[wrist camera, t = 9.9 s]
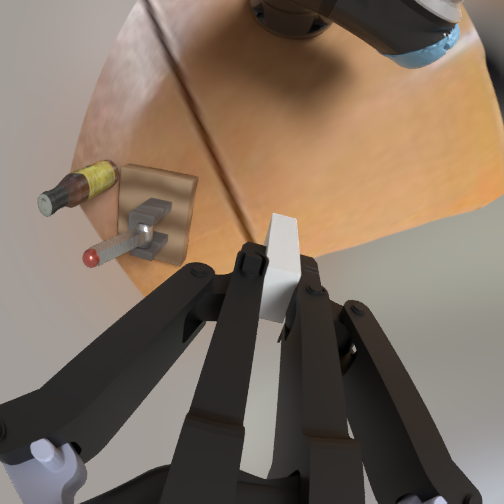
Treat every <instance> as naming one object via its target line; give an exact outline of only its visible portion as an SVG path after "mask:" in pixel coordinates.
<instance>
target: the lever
mask: <svg viewBox="0 0 504 504" xmlns="http://www.w3.org/2000/svg"><path fill="white" fill-rule="evenodd" d="M152 238H153V226H152V225H148V224H145V223H141V222H137V221H133V220H131V211H130V212H129V226H128V231H126V232H124V233H122V234H119V235H117V236H115V237H112V238H110V239H108V240H105V241H103V242H101V243H99V244H96V245H94V246H92V247H90V248H89V249H88V250H86V251H85V252H84V254H83V262H84V264H85V265H86V266H87V267H90V268H93V267H95V266H97V265H98V266H100V265H101V264H104V263H106V262H108V261H110V260H111V259H114V258H116V257H118V256H120V255H122V254H124V253H126V252H128V251H130V250H132V249H134V248H136V247H140V248H149V247H151V246H152Z"/></svg>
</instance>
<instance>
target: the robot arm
mask: <svg viewBox="0 0 504 504" xmlns="http://www.w3.org/2000/svg"><path fill="white" fill-rule="evenodd" d="M462 1H464V0H250V6H251V10H252V13H253V15H254V17H255V19H256V20H257V22H258V23H259V24H260V25H261V26H262V27H263V28H265V29H266V30H267V31H269V32H271V33H273V34H275V35H278V36H281V37H284V38H290V39H305V38H311V37H314V36H317V35H319V34H321V33H323V32H324V31H326V30H327V29H328V28H329V27H330V26H331V25H332V23H333V22H334V23H336V24H338V25H339V26H341V27H343V28H344V29H346V30H348V31H349V32H351V33H352V34H354V35H356V36H357V37H359V38H360V39H362V40H363V41H365V42H366V43H368V44H369V45H371V46H372V47H373V48H375V49H376V50H377V51H378V52H379V53H380V54H381V55H384V56H386V57H388V58H390V59H391V60H392V61H394V62H395V63H397V64H398V65H399V66H402V67H404V68H407V69H417V68H421V67H424V66H427V65H429V64H431V63H433V62H435V61H436V60H438V59H439V58H441V57H442V56H444V55H445V54H446V50H448V49H451V48H452V47H453V46H454V45H455V43H456V42H457V40H458V38H459V35H460V28H459V26H458V24H457V23H458V22H459V21H460V20H461V19H462V15H461V9H460V3H461V2H462ZM285 315H286V320H285V324H284V326H283V329H282V331H281V334H280V336H279V339H278V341H277V342H278V343H279V342H280V340H281V357H280V374H279V389H278V403H277V416H276V428H275V440H274V451H273V462H272V466H271V469H270V471H269V473H268V476H267V479H263V478H260V477H257V476H254V475H252V474H249V473H246V472H244V471H242V470H239V468H240V462H241V455H242V450H243V443H244V436H245V427H244V426H243V421H244V414H245V408H246V402H247V395H248V389H249V382H250V375H251V369H252V361H253V355H254V349H255V342H256V335H257V327H258V321H259V318H261V319H266V320H270V321H274V322H278V323H283V320H284V318H285ZM206 321H217V324H216V327H215V330H214V333H213V336H212V339H211V343H210V346H209V349H208V352H207V355H206V359H205V362H204V365H203V368H202V371H201V374H200V378H199V381H198V384H197V387H196V390H195V394H194V397H193V400H192V404H191V407H190V410H189V412H188V413H187V415H186V418H185V420H184V423H183V427H182V429H181V433H180V436H179V439H178V443H177V446H176V449H175V453H174V456H173V459H172V462H171V464H169V465H164V466H160V467H156V468H154V469H151V470H149V471H147V472H145V473H143V474H141V475H140V476H137V477H136V478H134V479H132V480H130V481H128V482H126V483H124V484H122V485H120V486H118V487H116V488H114V489H112V490H110V491H108V492H105V493H103V494H101V495H99V496H96V497H94V498H92V499H90V500H87V501H85V502H82V503H80V504H365V491H364V476H363V464H364V467H365V470H366V473H367V476H368V479H369V482H370V485H371V488H372V491H373V493H374V496H375V498H376V500H377V502H378V504H482V496H481V494H480V492H479V491H478V489H477V488H476V487H475V486H474V485H473V484H472V483H471V481H470V480H469V479H468V478H467V477H466V476H465V474H464V473H463V472H462V471H461V470H460V469H459V468H458V466H457V465H456V464H455V463H454V462H453V461H452V459H451V457H450V454H449V452H448V450H447V448H446V446H445V444H444V441H443V439H442V437H441V435H440V433H439V431H438V429H437V427H436V425H435V423H434V421H433V419H432V417H431V415H430V413H429V411H428V409H427V407H426V405H425V404H424V402H423V400H422V398H421V396H420V394H419V392H418V391H417V389H416V387H415V385H414V383H413V381H412V380H411V378H410V376H409V374H408V372H407V371H406V369H405V367H404V365H403V364H402V362H401V360H400V358H399V357H398V355H397V353H396V352H395V350H394V348H393V347H392V345H391V343H390V342H389V340H388V338H387V337H386V335H385V333H384V332H383V330H382V328H381V327H380V325H379V323H378V322H377V320H376V319H375V317H374V315H373V314H372V312H371V311H370V309H369V308H368V307H367V306H365V305H364V304H363V303H361V302H359V301H355V300H348V301H346V302H345V304H344V306H342V305H339V304H337V303H335V302H333V301H331V300H330V299H329V294H328V292H327V290H326V289H325V288H324V287H323V286H321V282H320V277H319V271H318V265H317V263H316V261H315V260H314V259H313V258H312V257H308V256H304V255H301V254H300V253H299V241H298V230H297V219H295V218H291V217H287V216H284V215H280V214H276V213H273V214H272V218H271V221H270V225H269V229H268V232H267V236H266V239H265V243H264V246H263V245H260V244H256V243H252V242H247V243H245V244H244V245H243V246H242V249H241V251H239V252H238V254H237V258H236V262H235V267H234V271H233V272H232V273H229V274H225V275H216V274H215V271H214V270H213V268H212V267H210V266H208V265H207V264H203V263H198V262H193V263H188V264H186V265H185V266H183V267H182V268H181V269H180V270H178V271H177V272H176V273H175V274H173V275H172V276H171V277H170V278H168V279H167V280H166V281H165V282H164V283H162V284H161V285H160V286H159V287H157V288H156V289H155V290H154V291H152V292H151V293H150V294H149V295H148V296H146V297H145V298H144V299H143V300H142V301H140V302H139V303H138V304H137V305H136V306H134V307H133V308H132V309H131V310H130V311H128V312H127V313H126V314H125V315H124V316H122V317H121V318H120V319H119V320H118V321H117V322H115V323H114V324H113V325H112V326H111V327H109V328H108V329H107V330H106V331H105V332H103V333H102V334H101V335H100V336H99V337H98V338H96V339H95V340H94V341H93V342H92V343H91V344H90V345H88V346H87V347H86V348H85V349H84V350H83V351H81V352H80V353H79V354H78V355H77V356H76V357H75V358H74V359H72V360H71V361H70V362H69V363H68V364H67V365H66V366H64V367H63V368H62V369H61V370H60V371H59V372H58V373H57V374H56V375H54V376H53V377H52V378H51V379H50V380H49V381H48V382H47V383H46V384H44V386H42V387H41V388H40V389H38V390H35V391H33V392H31V393H28V394H26V395H23V396H21V397H18V398H16V399H13V400H11V401H8V402H6V403H3V404H1V405H0V461H1V462H2V463H3V465H4V467H5V469H6V471H7V473H8V475H9V477H10V479H11V481H12V483H13V485H14V487H15V489H16V491H17V493H18V495H19V496H20V498H21V500H22V502H23V503H24V504H74V496H75V494H76V492H77V491H78V490H79V489H80V488H81V487H82V486H83V485H84V484H85V482H86V479H87V470H86V467H85V465H84V464H85V463H87V462H88V461H89V460H90V459H92V458H93V457H94V456H96V455H97V454H98V453H99V452H100V451H101V450H102V449H103V448H104V447H105V446H106V445H107V444H108V442H109V441H110V440H111V439H112V438H113V436H114V435H115V434H116V433H117V432H118V431H119V429H120V428H121V427H122V426H123V424H124V423H125V422H126V421H127V420H128V418H129V417H130V416H131V415H132V414H133V412H134V411H135V410H136V409H137V408H138V406H139V405H140V404H141V403H142V402H143V400H144V399H145V398H146V397H147V395H148V394H149V393H150V392H151V391H152V389H153V388H154V387H155V386H156V385H157V383H158V382H159V381H160V380H161V378H162V377H163V376H164V375H165V374H166V372H167V371H168V370H169V369H170V367H171V366H172V365H173V364H174V362H175V361H176V360H177V359H178V358H179V356H180V355H181V354H182V353H183V352H184V350H185V349H186V348H187V347H188V345H189V344H190V343H191V341H192V340H193V339H194V338H195V337H196V336H197V334H198V333H199V332H200V330H201V329H202V328H203V327H204V326H205V324H206ZM354 345H355V347H356V350H357V351H356V352H355V353H354V351H353V349H352V348H353V346H354ZM347 419H348V422H349V424H350V427H351V430H352V433H353V436H354V439H352V438H350V436H349V434H348V426H347ZM362 462H363V464H362Z"/></svg>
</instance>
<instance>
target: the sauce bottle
mask: <svg viewBox="0 0 504 504" xmlns="http://www.w3.org/2000/svg"><path fill="white" fill-rule="evenodd" d="M117 179H118V169H117V167H116V165H115V164H114V163H113V162H112V161H109V160H104V161H99V162H96V163H94V164H91V165H89V166H86V167H84V168H81V169H79V170H77V171H74V172H72V173H70V174H68V175H66V176H65V177H64V178H63V180H62V181H61V182H60V183H59V184H58V185H57V186H56V187H55V188H54V189H52V190H50V191H45V192H43V193H42V194H40V196H39V197H38V207H39V210H40V212H41V213H42V214H43V215H44V216H47V217H48V216H51V215H52V214H54V213H55V212H56V211H57V210H58V209H60V208H62V207H65V206H67V207H71V208H72V207H75V206H77V205H79V204H81V203H83V202H85V201H87V200H89V199H91V198H92V197H94V196H96V195H98V194H99V193H101V192H103V191H105V190H107V189H108V188H110V187H111V186H112V185H114V184H115V183H116V181H117Z"/></svg>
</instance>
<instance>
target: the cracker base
mask: <svg viewBox="0 0 504 504" xmlns="http://www.w3.org/2000/svg"><path fill="white" fill-rule="evenodd" d="M197 182H198V177H196V176H191V175H186V174H182V173H177V172H172V171H167V170H162V169H156V168H151V167H146V166H140V165H135V164H128V165H125V166H123V167H121V178H120V193H119V217H118V235H119V234H122V233H124V232H126V231H128V226H129V212H130V211H131V220H133V221H137V222H141V223H145V224H148V225H152V226H153V238H152V246H151V247H149V248H140V247H136V248H134V249H132V250H130V251H129V252H130V255H133V256H136V257H139V258H143V259H146V260H150V261H152V260H153V259H156V260H160V261H163V262H167V263H171V264H174V265H178V266H181V265H182V264H183V262H184V261H185V259H186V255H187V247H188V240H189V232H190V225H191V219H192V212H193V206H194V199H195V193H196V187H197Z"/></svg>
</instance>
